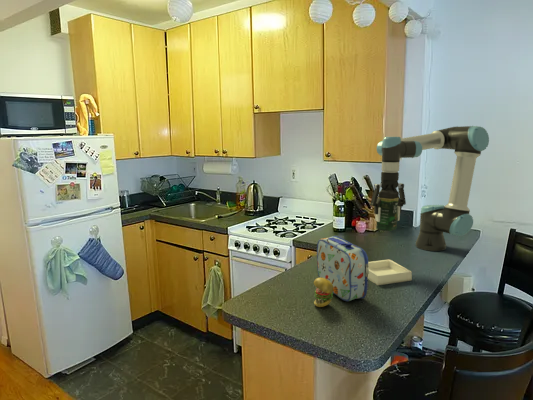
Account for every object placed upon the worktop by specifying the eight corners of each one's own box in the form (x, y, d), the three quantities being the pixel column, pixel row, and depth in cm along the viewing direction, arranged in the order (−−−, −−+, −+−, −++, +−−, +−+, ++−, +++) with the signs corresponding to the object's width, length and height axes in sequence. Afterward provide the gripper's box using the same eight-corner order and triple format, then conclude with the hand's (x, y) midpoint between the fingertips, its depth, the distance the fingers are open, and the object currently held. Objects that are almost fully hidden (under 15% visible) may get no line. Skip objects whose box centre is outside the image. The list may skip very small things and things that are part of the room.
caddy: (389, 267, 177) (389, 259, 176) (411, 280, 162) (411, 271, 161) (357, 271, 173) (357, 263, 172) (377, 285, 157) (377, 276, 157)
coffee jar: (390, 232, 168) (392, 191, 165) (373, 229, 173) (375, 189, 170) (399, 228, 175) (401, 189, 172) (383, 226, 180) (385, 187, 177)
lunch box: (374, 303, 141) (376, 246, 137) (350, 308, 137) (351, 250, 133) (334, 277, 166) (335, 229, 162) (313, 281, 162) (313, 231, 158)
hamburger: (313, 300, 144) (313, 270, 142) (332, 301, 143) (332, 271, 141) (313, 310, 137) (313, 278, 134) (333, 310, 136) (334, 279, 134)
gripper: (406, 170, 176) (403, 217, 180) (363, 171, 171) (361, 220, 174) (416, 171, 169) (413, 221, 172) (372, 172, 163) (369, 223, 167)
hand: (387, 220), depth 173 cm, fingers closed on coffee jar, 9 cm apart
